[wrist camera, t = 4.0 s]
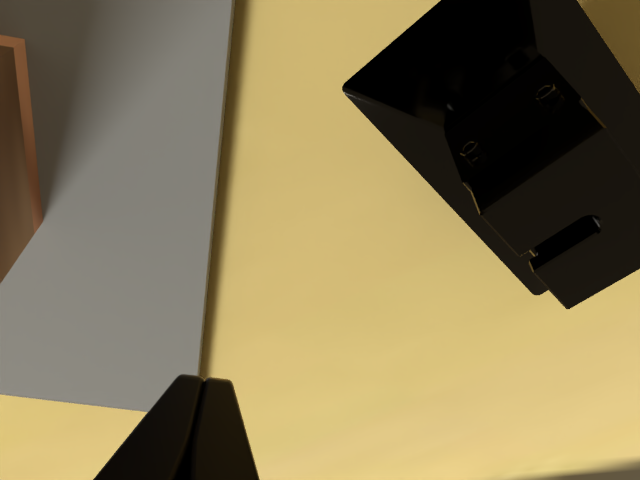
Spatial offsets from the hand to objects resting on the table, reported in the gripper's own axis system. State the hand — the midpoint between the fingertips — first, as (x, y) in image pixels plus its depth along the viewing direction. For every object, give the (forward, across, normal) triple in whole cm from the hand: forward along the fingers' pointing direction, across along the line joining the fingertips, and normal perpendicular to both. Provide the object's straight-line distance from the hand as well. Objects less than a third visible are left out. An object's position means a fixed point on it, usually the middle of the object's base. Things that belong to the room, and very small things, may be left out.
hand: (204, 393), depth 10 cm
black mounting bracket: (+9, -7, -2) cm, 12 cm away
